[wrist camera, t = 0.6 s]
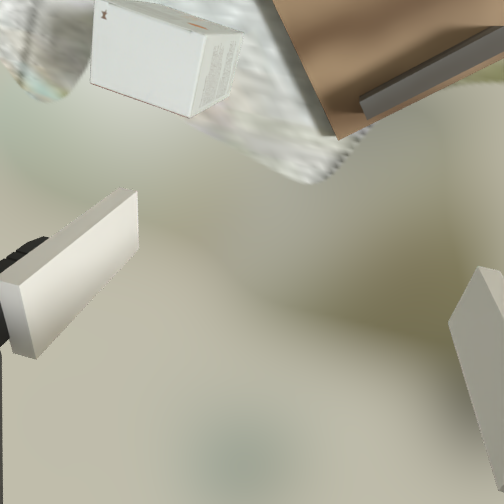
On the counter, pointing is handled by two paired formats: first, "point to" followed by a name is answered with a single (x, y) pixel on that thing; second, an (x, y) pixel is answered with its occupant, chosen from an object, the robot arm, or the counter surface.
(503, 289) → the robot arm
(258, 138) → the counter surface
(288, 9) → the mounting plate
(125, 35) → the small box
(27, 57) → the counter surface
